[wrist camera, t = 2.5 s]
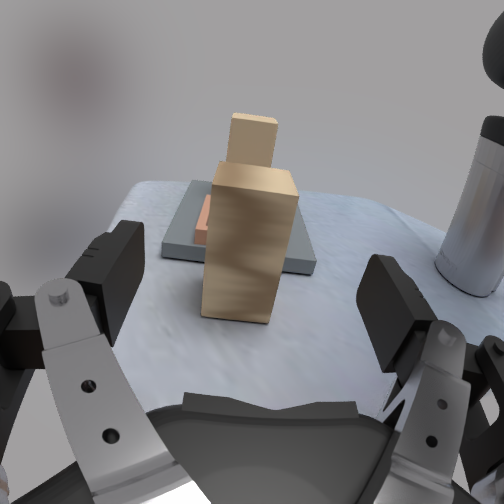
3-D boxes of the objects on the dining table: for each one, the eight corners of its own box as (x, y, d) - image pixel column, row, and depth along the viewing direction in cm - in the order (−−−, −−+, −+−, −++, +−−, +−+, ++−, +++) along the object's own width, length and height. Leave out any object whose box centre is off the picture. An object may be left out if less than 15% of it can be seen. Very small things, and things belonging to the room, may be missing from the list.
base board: (291, 203, 44) (308, 122, 38) (312, 274, 29) (345, 155, 24) (191, 190, 43) (199, 107, 37) (161, 256, 28) (166, 129, 22)
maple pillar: (265, 282, 27) (289, 170, 22) (268, 323, 23) (299, 196, 18) (207, 275, 27) (219, 161, 22) (200, 315, 23) (211, 184, 18)
